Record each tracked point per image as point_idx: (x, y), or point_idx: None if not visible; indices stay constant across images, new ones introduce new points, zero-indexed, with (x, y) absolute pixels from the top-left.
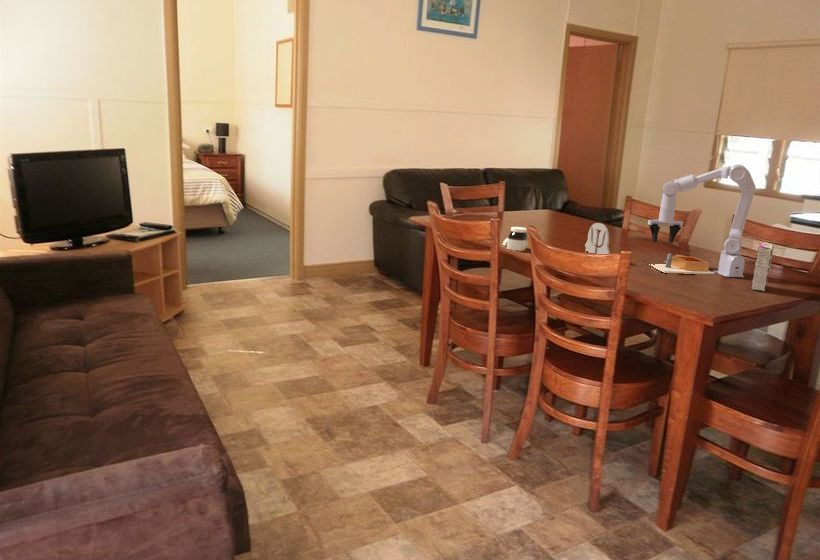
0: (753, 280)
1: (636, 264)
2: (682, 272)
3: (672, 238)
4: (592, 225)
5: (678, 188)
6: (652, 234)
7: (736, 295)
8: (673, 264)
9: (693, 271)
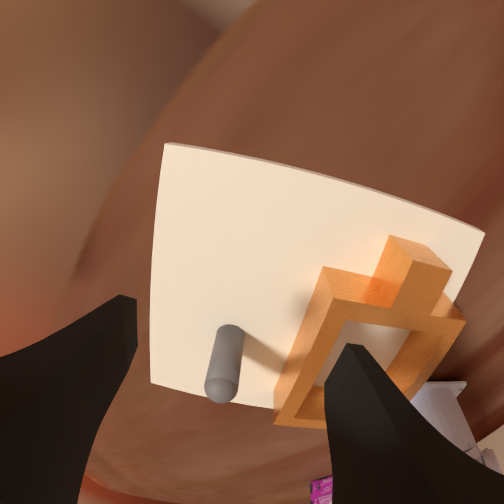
0: (311, 499)
1: (124, 171)
2: (237, 400)
3: (329, 434)
4: None
5: None
6: (56, 348)
7: (222, 491)
8: (310, 305)
9: None
